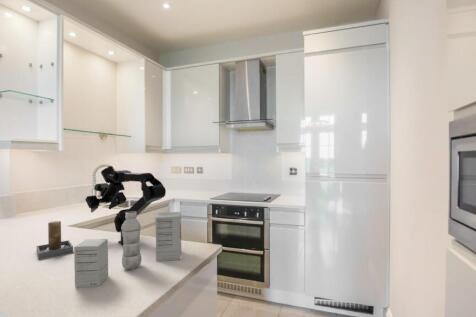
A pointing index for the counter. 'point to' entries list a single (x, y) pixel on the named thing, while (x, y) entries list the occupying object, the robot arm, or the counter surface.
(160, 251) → the supplement box
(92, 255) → the supplement box
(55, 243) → the scraper handle
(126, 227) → the plastic bottle
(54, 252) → the tray
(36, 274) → the counter surface
